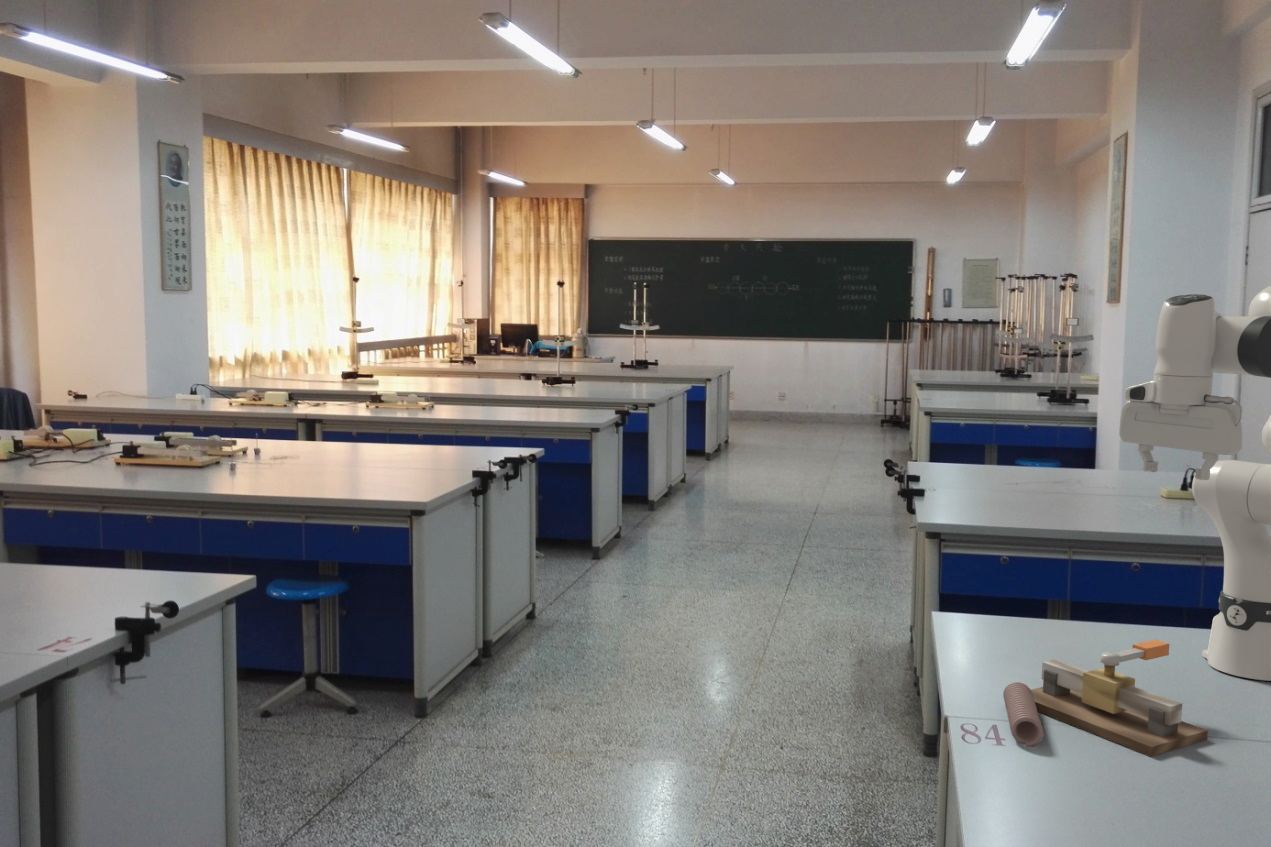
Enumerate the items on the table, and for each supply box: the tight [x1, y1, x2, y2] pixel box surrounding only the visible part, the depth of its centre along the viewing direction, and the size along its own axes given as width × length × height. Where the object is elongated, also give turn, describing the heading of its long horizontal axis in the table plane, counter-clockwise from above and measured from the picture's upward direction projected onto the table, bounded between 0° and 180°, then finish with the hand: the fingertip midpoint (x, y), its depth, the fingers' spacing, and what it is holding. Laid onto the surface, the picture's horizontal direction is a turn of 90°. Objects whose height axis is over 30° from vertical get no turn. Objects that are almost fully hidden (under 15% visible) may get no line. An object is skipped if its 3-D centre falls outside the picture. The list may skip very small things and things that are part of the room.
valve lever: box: [1100, 639, 1170, 667], centre depth 183 cm, size 15×3×2 cm, turn 120°
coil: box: [1002, 681, 1044, 747], centre depth 179 cm, size 5×5×18 cm
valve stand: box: [1030, 659, 1209, 757], centre depth 181 cm, size 14×26×9 cm, turn 30°
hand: (1175, 475), depth 185 cm, fingers open, 8 cm apart
